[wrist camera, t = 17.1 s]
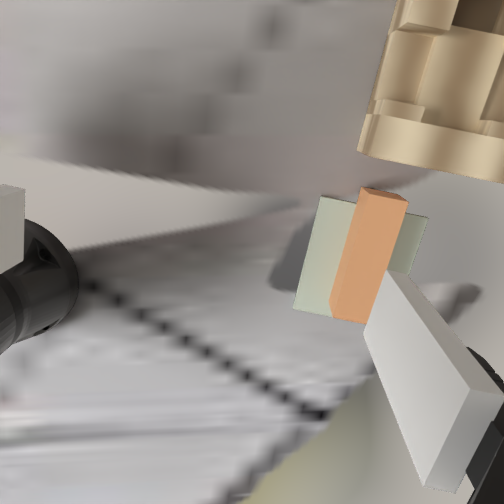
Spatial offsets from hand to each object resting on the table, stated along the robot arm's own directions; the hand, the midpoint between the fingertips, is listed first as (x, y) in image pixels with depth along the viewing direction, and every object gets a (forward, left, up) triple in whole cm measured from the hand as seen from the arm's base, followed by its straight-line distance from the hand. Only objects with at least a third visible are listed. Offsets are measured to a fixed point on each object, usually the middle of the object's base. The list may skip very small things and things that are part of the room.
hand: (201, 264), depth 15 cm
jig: (+17, +15, -31) cm, 39 cm away
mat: (+14, -9, -31) cm, 35 cm away
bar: (+14, -7, -31) cm, 34 cm away
